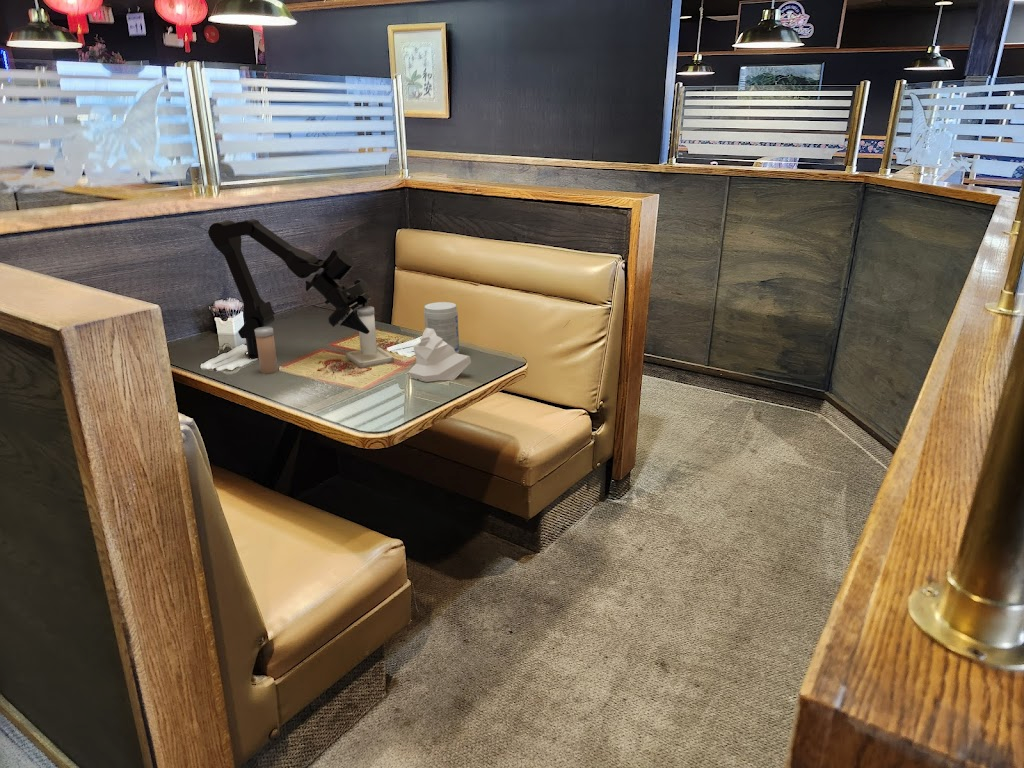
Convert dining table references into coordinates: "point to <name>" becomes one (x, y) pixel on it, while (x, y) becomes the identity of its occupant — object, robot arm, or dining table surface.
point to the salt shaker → (368, 340)
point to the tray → (369, 358)
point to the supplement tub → (443, 322)
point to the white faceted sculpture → (436, 359)
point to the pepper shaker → (266, 349)
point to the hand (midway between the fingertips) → (371, 330)
